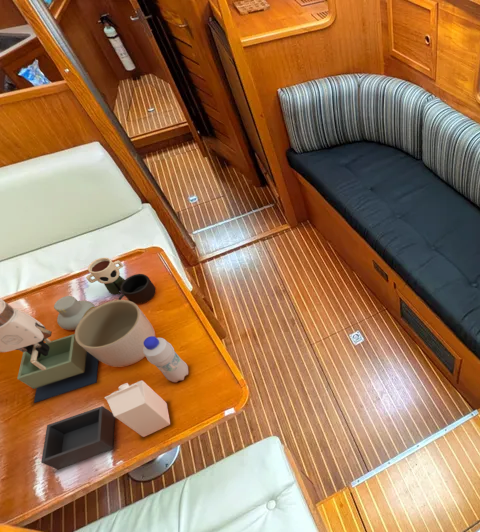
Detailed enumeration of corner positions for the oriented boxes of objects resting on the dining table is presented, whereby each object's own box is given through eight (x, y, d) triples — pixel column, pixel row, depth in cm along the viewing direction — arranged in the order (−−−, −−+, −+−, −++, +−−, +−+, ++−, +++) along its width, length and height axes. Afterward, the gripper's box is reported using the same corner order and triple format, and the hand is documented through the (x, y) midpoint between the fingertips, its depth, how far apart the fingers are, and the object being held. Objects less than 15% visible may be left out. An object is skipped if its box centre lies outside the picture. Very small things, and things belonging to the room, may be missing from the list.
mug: (146, 282, 144) (136, 270, 139) (163, 292, 141) (154, 279, 136) (117, 306, 137) (106, 293, 132) (134, 316, 134) (124, 304, 129)
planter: (104, 383, 118) (73, 358, 107) (103, 339, 128) (75, 312, 117) (164, 360, 123) (141, 333, 112) (159, 319, 133) (138, 291, 122)
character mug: (107, 303, 138) (86, 279, 128) (100, 292, 141) (78, 268, 131) (139, 285, 143) (120, 261, 133) (131, 275, 146) (112, 251, 137)
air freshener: (83, 335, 129) (64, 317, 122) (60, 332, 130) (39, 315, 122) (103, 308, 136) (87, 290, 129) (81, 306, 137) (63, 288, 130)
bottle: (164, 374, 120) (131, 340, 105) (185, 360, 123) (156, 325, 108) (173, 389, 117) (141, 356, 102) (195, 374, 120) (166, 340, 105)
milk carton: (170, 424, 110) (137, 396, 96) (143, 437, 108) (105, 410, 94) (167, 403, 114) (134, 372, 100) (140, 415, 112) (103, 385, 98)
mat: (34, 403, 114) (33, 402, 114) (42, 362, 122) (41, 362, 122) (96, 382, 118) (96, 382, 118) (99, 345, 127) (99, 344, 126)
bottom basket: (57, 469, 102) (41, 462, 97) (62, 433, 108) (47, 424, 103) (113, 449, 106) (99, 441, 101) (115, 415, 112) (102, 405, 107)
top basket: (33, 389, 113) (2, 370, 104) (39, 360, 119) (10, 340, 110) (84, 372, 116) (59, 352, 107) (87, 345, 122) (63, 324, 114)
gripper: (-50, 338, 93) (8, 374, 107) (27, 317, 98) (73, 354, 111) (-41, 314, 98) (13, 351, 112) (32, 295, 102) (75, 333, 116)
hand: (43, 352), depth 111 cm, fingers closed on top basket, 1 cm apart
